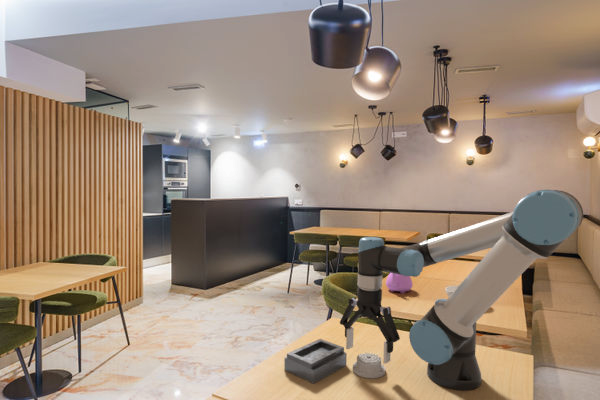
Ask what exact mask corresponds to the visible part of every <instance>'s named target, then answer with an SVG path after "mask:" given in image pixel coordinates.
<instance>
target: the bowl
mask: <svg viewBox="0 0 600 400" xmlns="http://www.w3.org/2000/svg"><path fill="white" fill-rule="evenodd" d="M458 286H459V285H449V286H446V287H445V289H444V290H445V292H446V295H447V296H448V298H449V297H450V295H451V294H452V293H453V292H454V291H455V290H456V289H457V287H458Z"/></svg>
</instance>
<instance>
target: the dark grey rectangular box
mask: <svg viewBox="0 0 600 400" xmlns="http://www.w3.org/2000/svg"><path fill="white" fill-rule="evenodd" d="M346 366H347V352H345V347H344V346H341V345H338V344H335V343H333V342H330V341H327V340H326V339H325V340H324V339H322V338H319V339H317V340H314V341H312V342H310V343H308V344H305V345H303V346H301V347H299V348H296V349H294V350H292V351H290V352H287V353H286V356H284V366H283V367H284V371H285V372H288V373H290V374H292V375H294V376H296V377H298V378H300V379H303V380H305V381H307V382H309V383H311V384H314V385H315V384H316V383H318V382H319V381H321V380H323V379H325V378H327V377H328V376H330V375H332V374H334V373H335V372H337V371H339V370H341V369H342V368H344V367H346Z"/></svg>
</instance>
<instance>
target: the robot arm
mask: <svg viewBox="0 0 600 400" xmlns="http://www.w3.org/2000/svg"><path fill="white" fill-rule="evenodd" d="M583 209H584V208H583V206H582V204H581V203H580V201H579V200H578V199H577V197H575V196H574V195H572V194H570V193H569V192H567V191H564V190H557V189H556V190H555V189H553V190H552V189H540V190H536V191H533V192H531V193H528V194H527V195H525V196H523V197H522V198H521V199H520V200H519V201H518V203H516V205H515V207H514V209H513V211H510V212H507V213H505V214H502V215H499V216H496V217H492V218H489V219H486V220H482V221H480V222H478V223H475V224H472V225H468V226H466V227H465V226H464V227H463V228H460V229H456V230H454V231H450V232H448V233H444V234H442V235H438V236H436V237H433V238H430V239H426V240H424V241H421V242H417V243H415V244H411V245H407V246H406V245H405V246H403V247H394V246H393V247H392V246H386V245H385V242H384V238H381V237H378V236H376V237H375V236H365V237H361V238H360V239H359V242H358V251H357V255H358V258H357V259H358V260H357V261H358V264H357V266H358V267H357V268H358V269H357V286H358V287H357V288H356V289H357V290H356V292H357V293H356V297H352V298H350V299H348V304H347V306H346V308H345V311H344V312H343V315H342V317H341V319H340V321H339V324H340V325H343V327H344V337H345V339H346V342H345V343H346V345H345V346H346V347H345V349H346V350H350V349H352V348H353V347H354V331H355V330H354V329H355V328H354V326H353V325H354V324H355V323H356V322H357V321H358V320H359V318H361V317H364V318H367V319H371V320H373V322H374V323H375V324H376V325H377V327H378V328H379V331H380V332H381V334H382V335H383V337H384V339H385V340H384V341H383V360H382V361H383V363H382V364H387V363H389V362H391V353H393V351H394V343H396V342H397V341H399V340H400V339H401V338H400V334H399V332H398V329H397V327H396V326H397V325H396V324H395V322H394V318H393V316H392V309H391V307H390V306H387V307H386V306H383V305H382V299H383V297H382V296H383V289H382V287H383V274H384V273H383V272H386V273H389V274H390V273H395V274H400V275H403V276H410V277H414V278H417V277H419V276H420V275H421V273H422V272H423V269H424V268H426V267H429V266H432V265H436V264H438V263H442V262H445V261H449V260H453V259H456V258H460V257H463V256H467V255H470V254H473V253H478V252H481V251H484V250H489V249H490V250H489V251H488V252H487V253H486V254H485V255H484V257H483V258H482V259H481V260H480V261H479V263H478V264H477V265H476V266H475V267H474V268H473V269H472V270H471V272H470V273H469V274H468V275H467V276H466V277H465V278H464V279H463V281H462V282H460V284H459V285H457V286H458V287H457V289H456V290H455V291H454V292H453V293H452V294H451V295H450V297H449V296H448V298H438V299H436V300H435V301H434V304H433V306H432V307H430V309H429V310H428V311H427V313H425V315H424V316H423V317H422V318H421V319H419V320H417V321H415V322H414V323H413V325H412V326H411V328H410V330H409V333H408V335H409V336H408V337H409V341H410V343H409V344H410V346H411V348H412V350H413V351H414V352H415V354H416V355H417V356H418V357H419V359H421V360H422V361H423V362H425V363H427V366H426V368H427V369H426V370H427V371H426V374H427V376H428V378H429V379H430V380H431V381H432V382H434V383H436V384H437V385H439V386H443V387H445V388H448V389H453V390H458V391H470V390H475V389H477V388H479V387H480V386H481V385H482V371H481V370H480V366H479V362H478V360H477V357H476V348H477V345H476V342H477V338H476V337H477V336H476V335H477V321H478V320H479V319H480V318H482V316H483V315H484V314H485V313H486V312H487V311H488V310H489V309H490V308H491V307H492V306H493V305H494V304H495V303H496V302H497V301H498V300H499V299H500V298H501V296H502V295H503V294H504V293H506V291H507V290H508V289H509V288H510V287H511V286H512V285H513V284H514V283H515V281H517V280H518V279H519V278H520V276H521V275H523V273H524V272H526V270H527V269H529V267H530V266H531V265H532V264H533V263H534V262H535V261H536V260H539V259H540V260H541V259H549V257H550V256H551V255H552V254H553V253H554V252H555V251H556V250H557V249H558V248H559V247H560V246H561V245H562V244H563V243H564V242H565V241H566V240H567V239H568V238H569V237H570V236H572V234H573V233H575V231H577V230H578V229H579V228H580V226H581V225H582V223H583V220H584V210H583ZM356 306H357V308H358V309H357V311H355V313H354V314H353V315H352V313H353V311H354V309H355V308H356ZM351 315H352V316H351Z"/></svg>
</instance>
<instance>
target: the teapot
mask: <svg viewBox="0 0 600 400" xmlns="http://www.w3.org/2000/svg"><path fill="white" fill-rule="evenodd" d="M385 285H386V287H387V288H388V289H389V292H392V293H394V292H395V291H396V292H400V294H405V293H406V292H409V291H410V290H411V289H412V288H413V281H412V278H411V276H403V275H400V274H395V273H390V272H389V274H388V276H387V277H386V281H385Z"/></svg>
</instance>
